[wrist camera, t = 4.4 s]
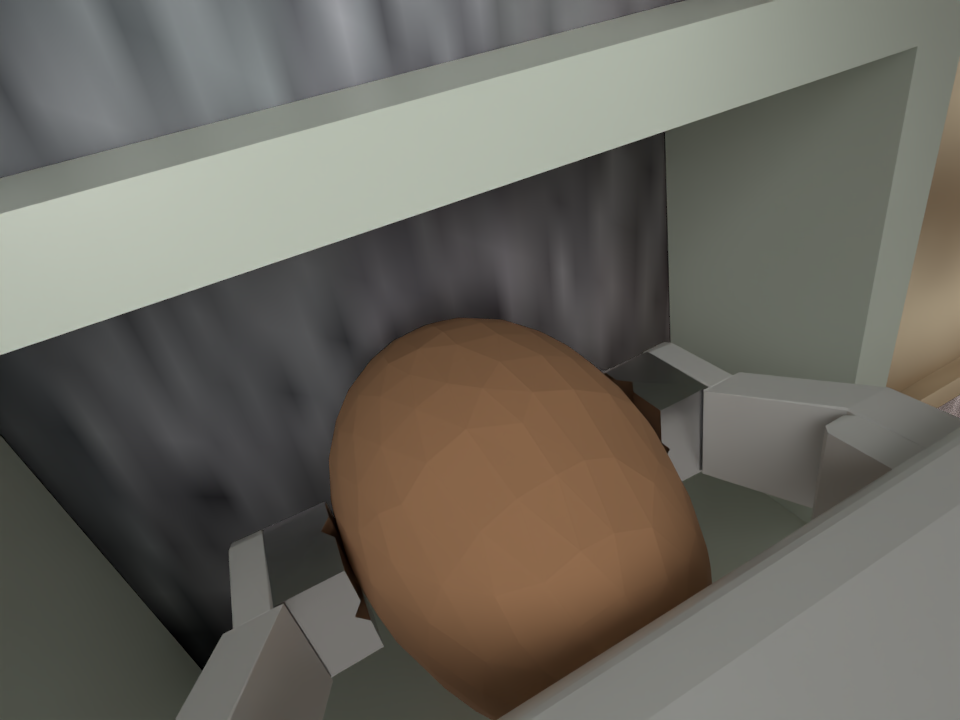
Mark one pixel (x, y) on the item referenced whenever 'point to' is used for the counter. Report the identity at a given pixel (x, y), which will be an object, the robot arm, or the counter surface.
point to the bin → (461, 174)
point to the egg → (507, 508)
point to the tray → (934, 284)
